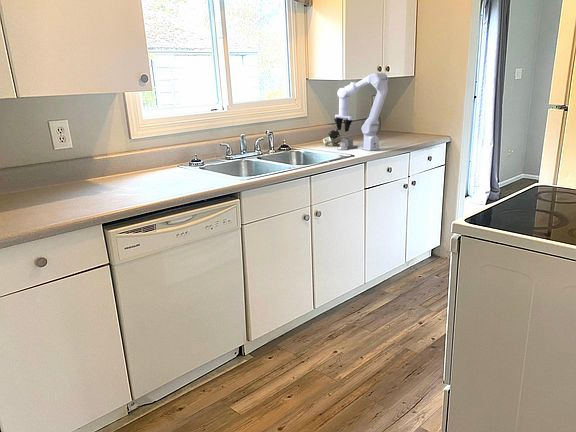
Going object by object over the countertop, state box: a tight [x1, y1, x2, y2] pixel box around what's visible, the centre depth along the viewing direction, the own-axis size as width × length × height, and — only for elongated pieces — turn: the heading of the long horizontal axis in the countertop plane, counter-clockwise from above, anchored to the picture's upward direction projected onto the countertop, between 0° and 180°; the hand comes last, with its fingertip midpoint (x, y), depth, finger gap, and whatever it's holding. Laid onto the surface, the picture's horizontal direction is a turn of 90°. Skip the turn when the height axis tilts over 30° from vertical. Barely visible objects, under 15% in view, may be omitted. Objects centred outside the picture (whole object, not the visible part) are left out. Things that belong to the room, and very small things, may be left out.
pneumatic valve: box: [322, 129, 342, 147], centre depth 294 cm, size 6×12×12 cm
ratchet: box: [337, 142, 358, 151], centre depth 282 cm, size 13×6×4 cm, turn 118°
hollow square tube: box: [341, 137, 354, 146], centre depth 290 cm, size 5×5×5 cm
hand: (342, 130), depth 289 cm, fingers open, 7 cm apart
